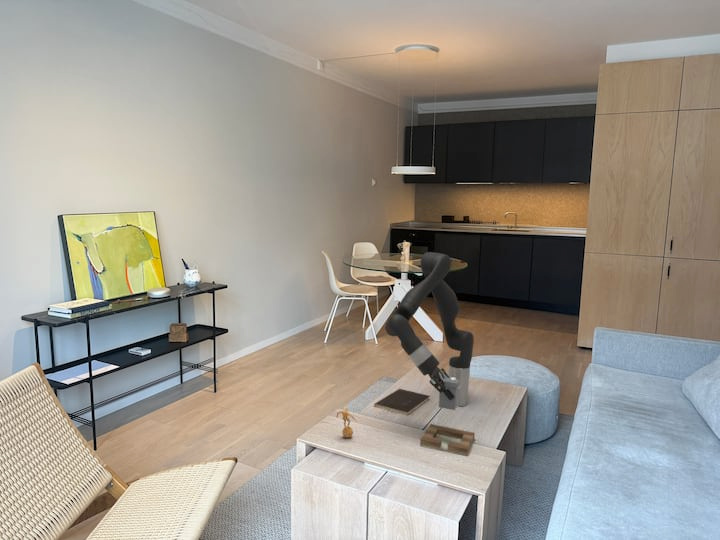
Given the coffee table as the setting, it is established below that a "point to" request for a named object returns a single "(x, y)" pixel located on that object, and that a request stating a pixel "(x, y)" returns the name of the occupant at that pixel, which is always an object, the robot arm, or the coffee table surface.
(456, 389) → the block
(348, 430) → the figurine
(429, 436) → the walnut plate
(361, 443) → the coffee table surface
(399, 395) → the hardcover book
